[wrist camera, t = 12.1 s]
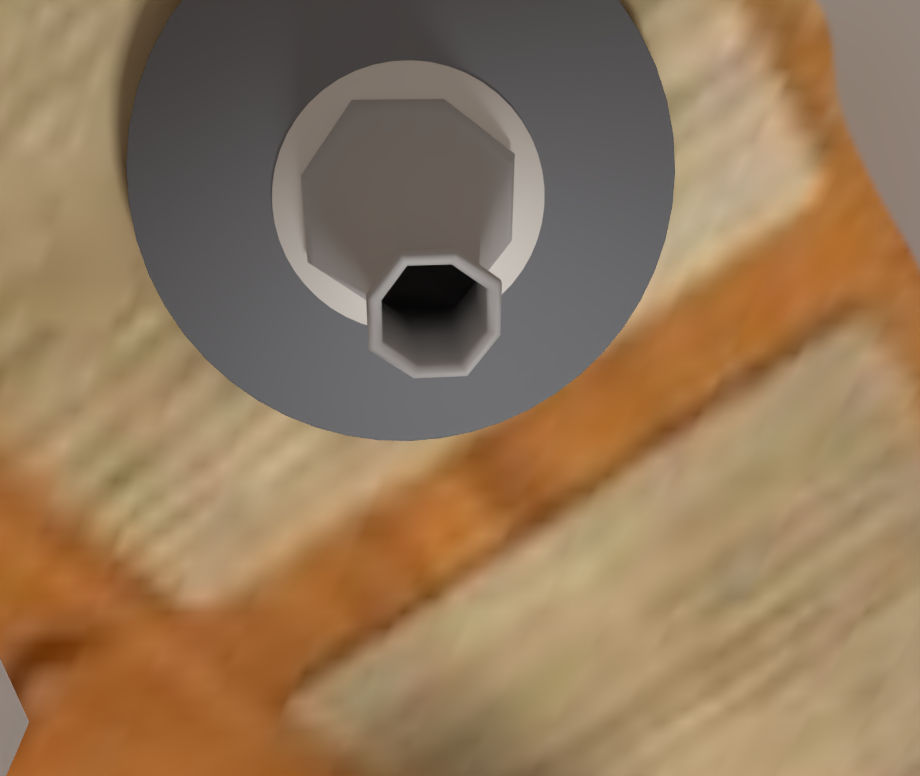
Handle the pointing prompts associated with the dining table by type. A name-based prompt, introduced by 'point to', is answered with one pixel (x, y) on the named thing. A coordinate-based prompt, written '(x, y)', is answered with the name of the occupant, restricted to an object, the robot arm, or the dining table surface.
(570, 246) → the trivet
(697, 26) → the dining table surface
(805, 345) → the dining table surface
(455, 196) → the flask
